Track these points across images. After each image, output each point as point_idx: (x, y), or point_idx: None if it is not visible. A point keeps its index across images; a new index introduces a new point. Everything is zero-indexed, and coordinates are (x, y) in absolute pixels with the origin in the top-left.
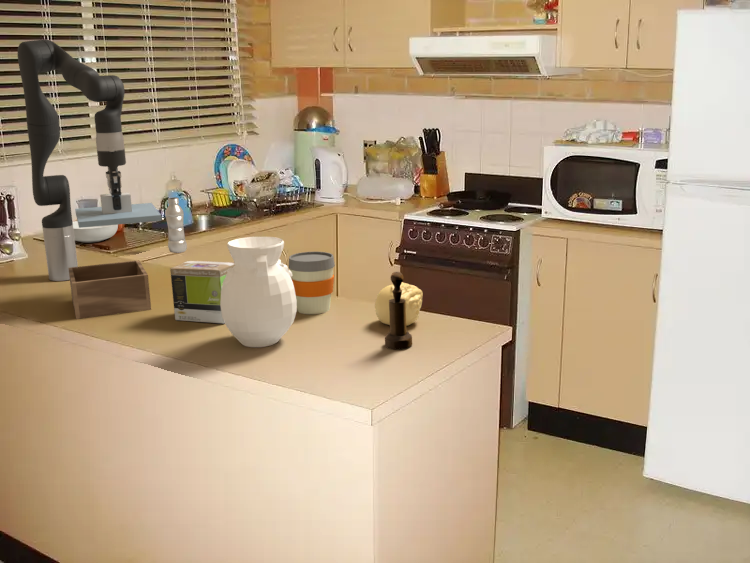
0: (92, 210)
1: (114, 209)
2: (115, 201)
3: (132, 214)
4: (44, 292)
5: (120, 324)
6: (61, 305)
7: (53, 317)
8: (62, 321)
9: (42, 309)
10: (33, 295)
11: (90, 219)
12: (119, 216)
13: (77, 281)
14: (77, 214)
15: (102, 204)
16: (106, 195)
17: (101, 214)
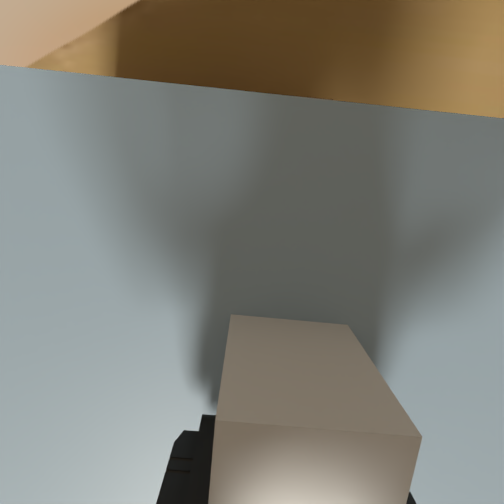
0: (470, 266)
1: (201, 419)
2: (159, 498)
3: (102, 489)
4: (458, 58)
5: None
6: (277, 86)
7: (160, 47)
8: (107, 66)
9: (263, 27)
10: (444, 20)
11: (26, 181)
12: (60, 403)
13: None
14: (351, 110)
15: (224, 362)
16: (287, 492)
17: (224, 301)
